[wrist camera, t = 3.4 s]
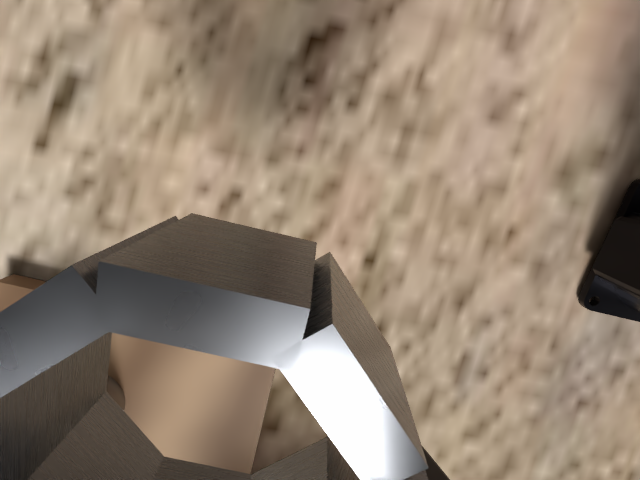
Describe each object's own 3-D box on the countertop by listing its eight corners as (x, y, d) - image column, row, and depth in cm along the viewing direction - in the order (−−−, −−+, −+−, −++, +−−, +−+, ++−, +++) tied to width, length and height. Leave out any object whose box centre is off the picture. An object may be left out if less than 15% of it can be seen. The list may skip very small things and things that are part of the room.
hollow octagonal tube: (422, 267, 7) (486, 348, 4) (338, 521, 9) (344, 697, 6) (78, 186, 7) (-98, 216, 4) (61, 465, 9) (-70, 624, 6)
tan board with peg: (283, 334, 19) (264, 419, 13) (245, 493, 21) (215, 622, 16) (13, 274, 18) (-135, 335, 12) (11, 445, 21) (-111, 561, 15)
